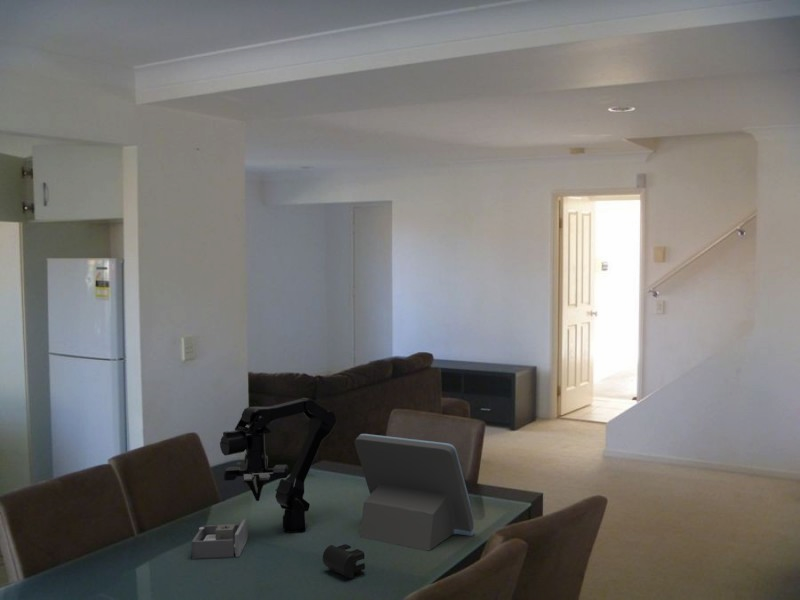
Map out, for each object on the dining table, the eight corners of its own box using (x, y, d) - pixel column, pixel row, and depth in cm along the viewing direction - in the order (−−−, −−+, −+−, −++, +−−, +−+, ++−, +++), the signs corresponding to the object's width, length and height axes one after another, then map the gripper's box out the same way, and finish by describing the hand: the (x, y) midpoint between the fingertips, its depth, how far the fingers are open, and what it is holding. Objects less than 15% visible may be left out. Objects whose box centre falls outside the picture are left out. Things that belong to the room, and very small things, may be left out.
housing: (242, 540, 242) (241, 523, 242) (233, 557, 228) (232, 539, 228) (202, 542, 242) (201, 524, 241) (190, 559, 228) (189, 541, 227)
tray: (247, 539, 242) (246, 518, 242) (239, 556, 228) (238, 534, 228) (208, 541, 242) (207, 520, 241) (197, 558, 228) (196, 536, 227)
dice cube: (216, 547, 232) (215, 530, 232) (219, 541, 237) (218, 524, 237) (233, 546, 232) (232, 529, 232) (236, 540, 237) (235, 523, 237)
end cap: (322, 572, 215) (321, 547, 215) (344, 565, 220) (343, 540, 219) (344, 582, 207) (343, 557, 207) (366, 575, 212) (365, 550, 212)
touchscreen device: (477, 533, 241) (472, 435, 238) (444, 556, 224) (438, 452, 222) (382, 515, 260) (377, 425, 258) (345, 536, 244) (339, 439, 242)
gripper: (289, 442, 249) (291, 491, 249) (229, 444, 248) (231, 494, 249) (285, 450, 238) (287, 502, 238) (222, 453, 237) (224, 504, 238)
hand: (257, 500), depth 241 cm, fingers closed
